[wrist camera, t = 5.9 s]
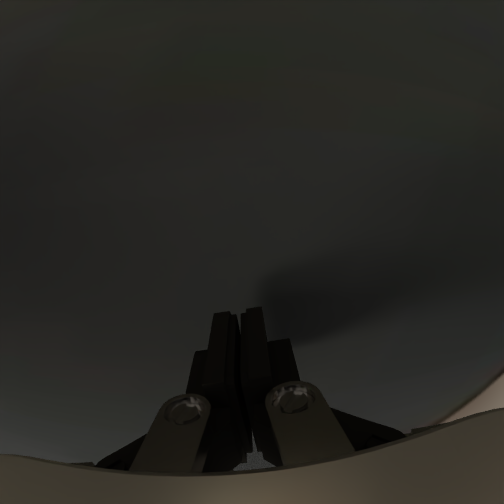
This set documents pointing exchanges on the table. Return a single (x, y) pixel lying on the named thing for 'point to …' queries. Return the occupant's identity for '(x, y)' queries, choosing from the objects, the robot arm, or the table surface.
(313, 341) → the table surface
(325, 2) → the table surface
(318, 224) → the table surface
